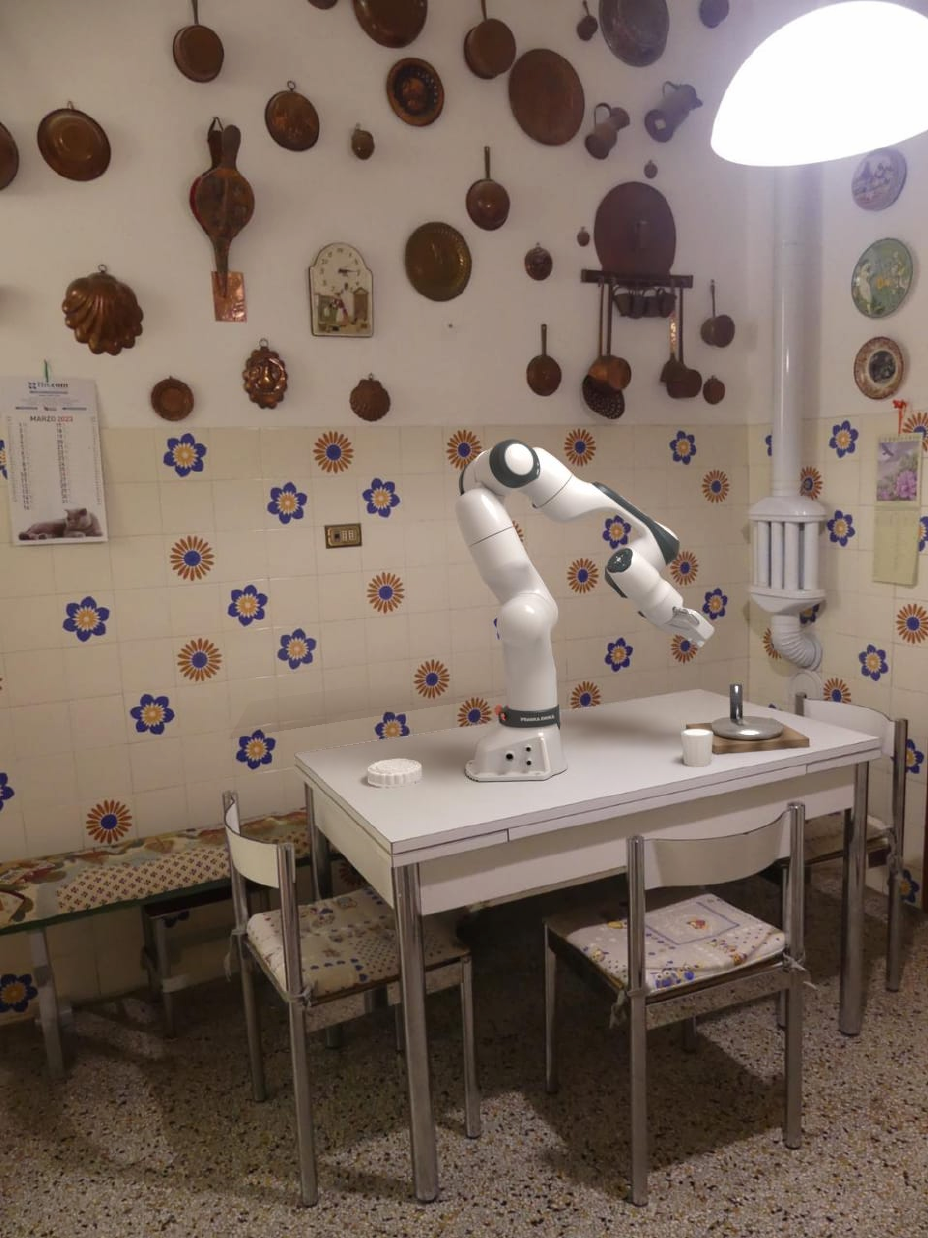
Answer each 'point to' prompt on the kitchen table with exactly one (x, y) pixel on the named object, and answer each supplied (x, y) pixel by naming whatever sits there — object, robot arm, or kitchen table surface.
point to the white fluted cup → (697, 747)
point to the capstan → (744, 721)
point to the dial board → (754, 741)
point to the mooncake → (394, 771)
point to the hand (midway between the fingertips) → (699, 644)
